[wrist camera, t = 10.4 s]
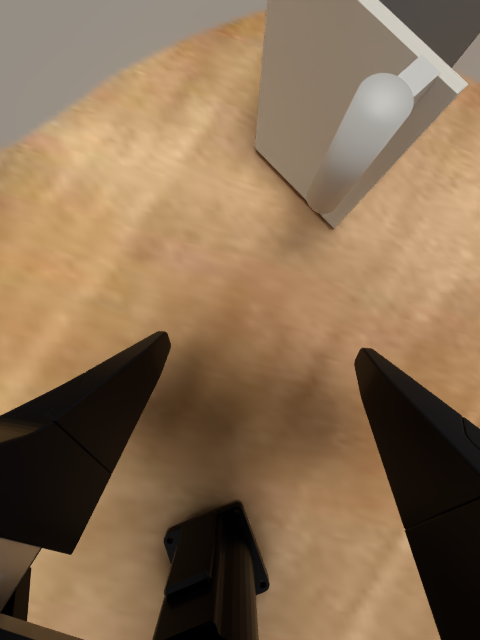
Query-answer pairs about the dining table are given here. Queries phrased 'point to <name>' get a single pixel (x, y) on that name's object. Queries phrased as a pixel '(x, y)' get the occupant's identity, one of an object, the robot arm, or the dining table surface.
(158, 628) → the robot arm
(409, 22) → the carton
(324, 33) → the white square panel
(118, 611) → the dining table surface
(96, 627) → the dining table surface
